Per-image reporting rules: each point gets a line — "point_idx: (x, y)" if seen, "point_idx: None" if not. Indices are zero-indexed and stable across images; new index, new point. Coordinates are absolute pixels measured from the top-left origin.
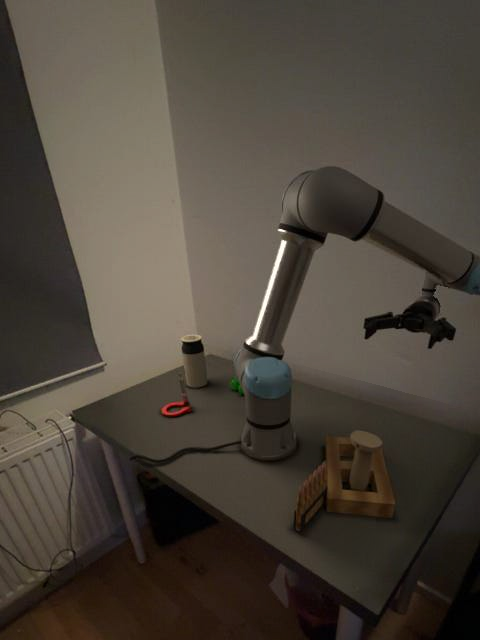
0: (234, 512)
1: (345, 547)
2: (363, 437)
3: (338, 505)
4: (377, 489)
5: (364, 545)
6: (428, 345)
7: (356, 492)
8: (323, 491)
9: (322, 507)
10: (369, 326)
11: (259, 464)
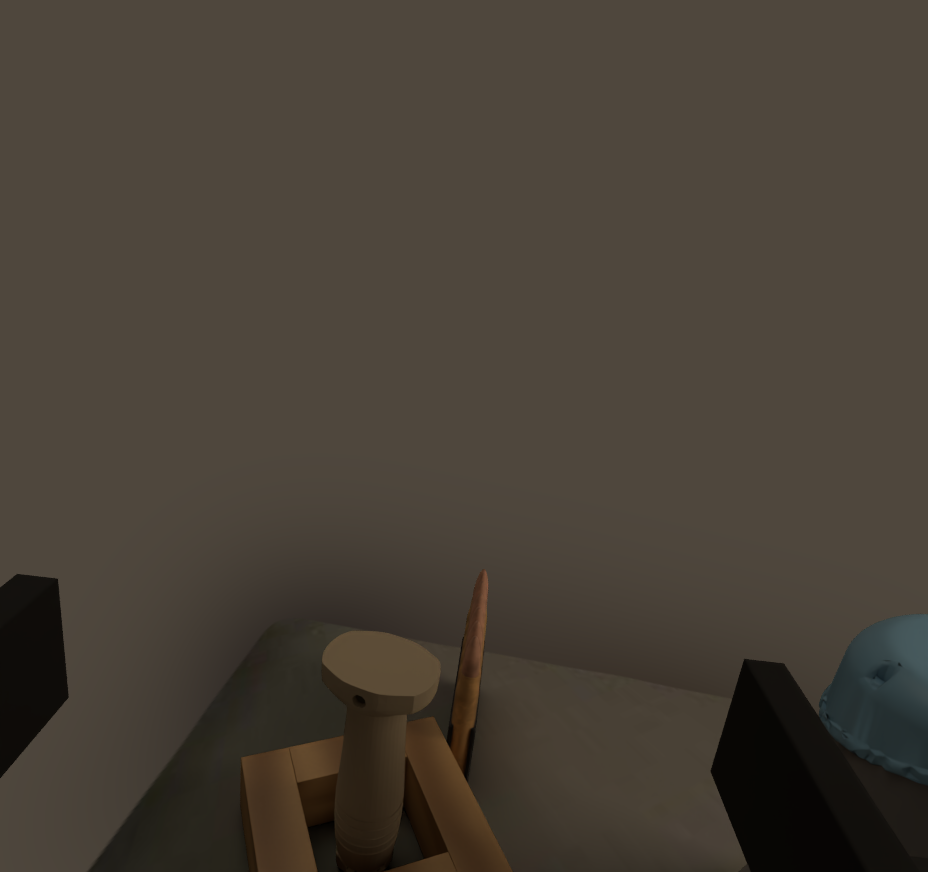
0: (621, 685)
1: None
2: (392, 665)
3: None
4: (299, 795)
5: (311, 705)
6: (61, 668)
7: None
8: (452, 706)
9: None
10: (787, 704)
11: (740, 866)
